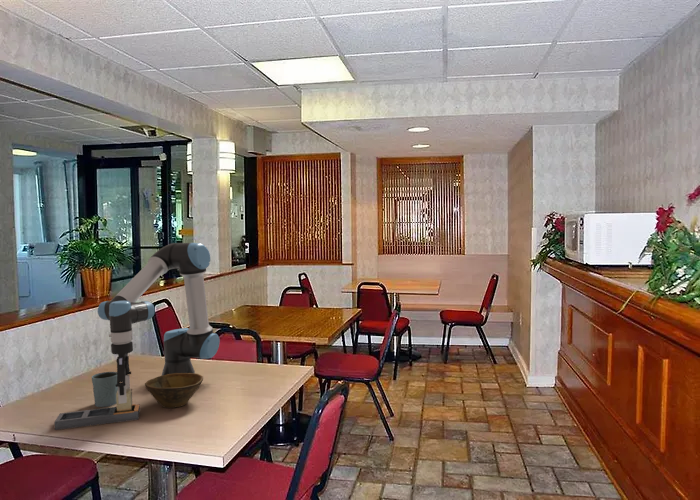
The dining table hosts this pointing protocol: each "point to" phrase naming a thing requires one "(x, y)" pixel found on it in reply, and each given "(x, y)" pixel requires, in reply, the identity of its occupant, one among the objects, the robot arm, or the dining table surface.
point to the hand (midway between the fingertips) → (124, 397)
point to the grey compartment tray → (95, 417)
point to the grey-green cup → (105, 389)
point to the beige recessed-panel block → (125, 406)
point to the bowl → (174, 388)
